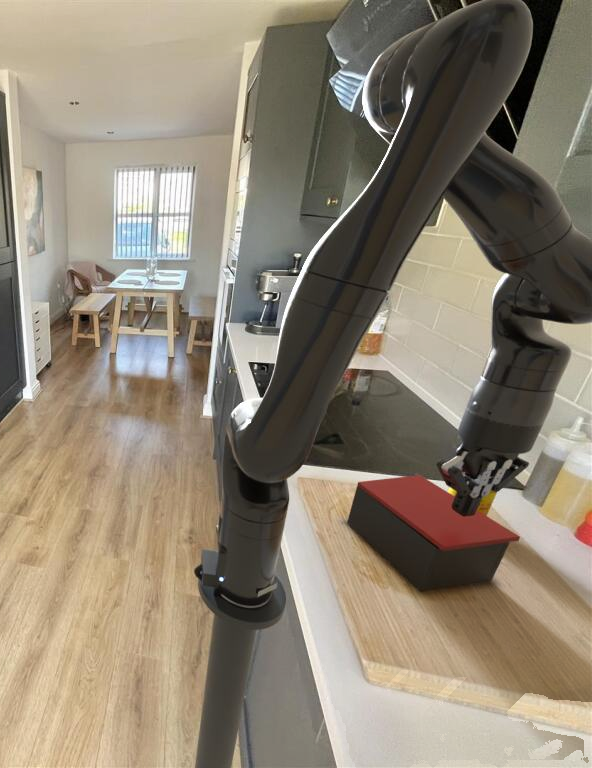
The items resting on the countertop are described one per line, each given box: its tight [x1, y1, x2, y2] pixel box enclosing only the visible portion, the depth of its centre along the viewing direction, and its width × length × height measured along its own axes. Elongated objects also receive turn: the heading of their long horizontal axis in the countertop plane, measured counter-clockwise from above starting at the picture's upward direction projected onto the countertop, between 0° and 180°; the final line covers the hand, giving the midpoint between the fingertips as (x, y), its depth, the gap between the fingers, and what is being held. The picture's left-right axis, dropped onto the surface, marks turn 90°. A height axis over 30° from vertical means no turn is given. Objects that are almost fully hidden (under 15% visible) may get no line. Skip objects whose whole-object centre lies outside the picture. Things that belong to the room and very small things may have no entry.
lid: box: [356, 474, 521, 551], centre depth 66 cm, size 16×13×1 cm
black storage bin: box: [346, 485, 511, 593], centre depth 68 cm, size 16×13×9 cm
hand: (462, 512), depth 61 cm, fingers closed
